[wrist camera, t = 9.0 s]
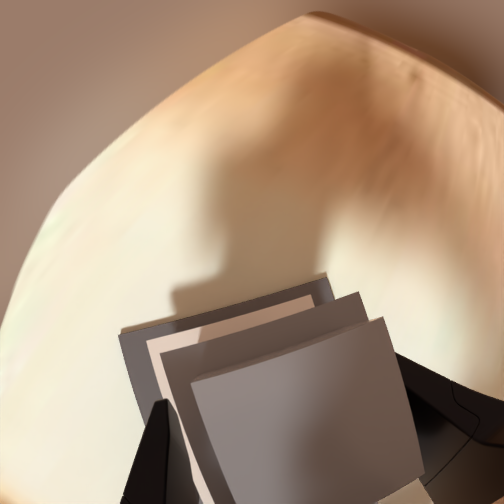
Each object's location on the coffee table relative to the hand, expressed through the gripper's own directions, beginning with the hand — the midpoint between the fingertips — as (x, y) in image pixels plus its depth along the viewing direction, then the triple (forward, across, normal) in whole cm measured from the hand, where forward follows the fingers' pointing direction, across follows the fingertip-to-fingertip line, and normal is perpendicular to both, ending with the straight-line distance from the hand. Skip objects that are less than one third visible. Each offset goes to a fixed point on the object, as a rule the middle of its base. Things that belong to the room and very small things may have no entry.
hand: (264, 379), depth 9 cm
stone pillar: (+5, 0, +7) cm, 9 cm away
